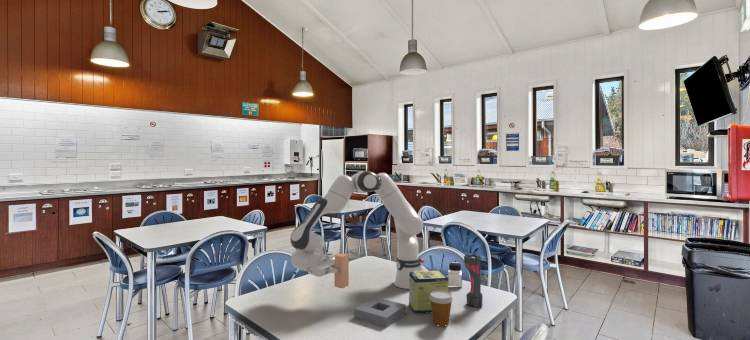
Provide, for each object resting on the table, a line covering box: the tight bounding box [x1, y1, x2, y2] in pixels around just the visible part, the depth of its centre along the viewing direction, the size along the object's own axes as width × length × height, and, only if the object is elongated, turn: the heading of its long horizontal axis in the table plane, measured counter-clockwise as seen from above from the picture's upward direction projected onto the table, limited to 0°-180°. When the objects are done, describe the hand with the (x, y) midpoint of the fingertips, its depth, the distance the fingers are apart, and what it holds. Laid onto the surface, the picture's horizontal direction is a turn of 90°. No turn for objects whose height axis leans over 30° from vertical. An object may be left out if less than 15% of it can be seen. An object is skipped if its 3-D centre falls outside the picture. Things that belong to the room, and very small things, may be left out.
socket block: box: [353, 296, 407, 329], centre depth 160 cm, size 16×16×4 cm
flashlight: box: [463, 253, 483, 307], centre depth 173 cm, size 8×8×23 cm
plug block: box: [334, 252, 350, 289], centre depth 165 cm, size 4×4×14 cm
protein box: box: [408, 270, 449, 314], centre depth 168 cm, size 10×16×16 cm
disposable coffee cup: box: [429, 291, 454, 327], centre depth 153 cm, size 10×10×12 cm
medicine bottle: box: [447, 261, 463, 288], centre depth 199 cm, size 7×7×12 cm
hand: (343, 269), depth 165 cm, fingers closed on plug block, 4 cm apart
